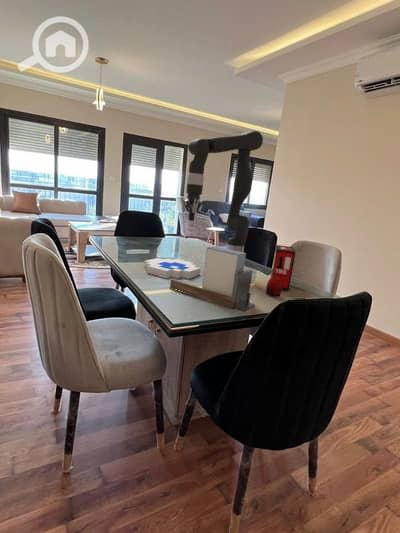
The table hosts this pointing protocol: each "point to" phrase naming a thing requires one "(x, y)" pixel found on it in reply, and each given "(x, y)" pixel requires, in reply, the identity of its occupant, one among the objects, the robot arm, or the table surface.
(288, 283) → the cleaning product box
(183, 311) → the table surface
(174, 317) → the table surface
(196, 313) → the table surface
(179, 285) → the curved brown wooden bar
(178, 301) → the table surface
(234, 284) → the bookend
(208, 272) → the book
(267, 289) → the red clay folk toy
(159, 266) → the stepped white slab
